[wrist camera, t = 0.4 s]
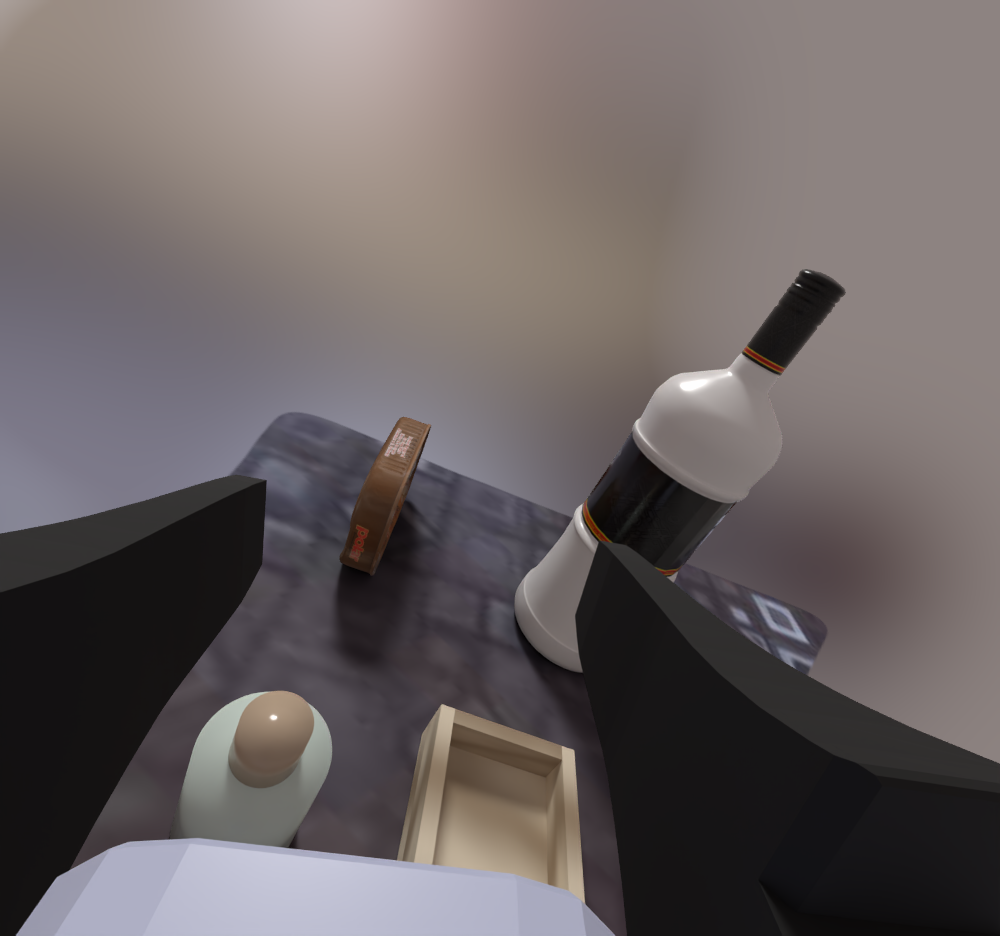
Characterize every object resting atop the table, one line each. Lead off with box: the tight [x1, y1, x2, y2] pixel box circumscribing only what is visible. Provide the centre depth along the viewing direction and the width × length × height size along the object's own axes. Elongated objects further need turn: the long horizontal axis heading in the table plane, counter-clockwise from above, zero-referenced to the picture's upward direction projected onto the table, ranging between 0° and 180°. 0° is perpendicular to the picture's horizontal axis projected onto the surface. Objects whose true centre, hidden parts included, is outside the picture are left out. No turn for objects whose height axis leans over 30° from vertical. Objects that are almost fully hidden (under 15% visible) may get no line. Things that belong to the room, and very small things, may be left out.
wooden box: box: [397, 705, 585, 904], centre depth 26 cm, size 8×8×3 cm
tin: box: [340, 417, 431, 576], centre depth 40 cm, size 15×3×8 cm, turn 177°
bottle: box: [170, 691, 332, 848], centre depth 21 cm, size 5×5×8 cm
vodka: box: [514, 269, 846, 673], centre depth 35 cm, size 9×9×30 cm
